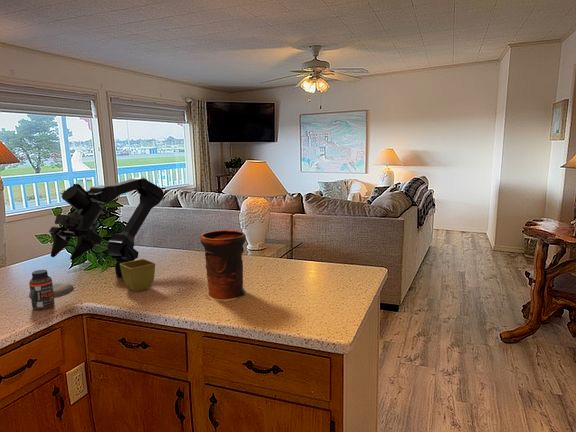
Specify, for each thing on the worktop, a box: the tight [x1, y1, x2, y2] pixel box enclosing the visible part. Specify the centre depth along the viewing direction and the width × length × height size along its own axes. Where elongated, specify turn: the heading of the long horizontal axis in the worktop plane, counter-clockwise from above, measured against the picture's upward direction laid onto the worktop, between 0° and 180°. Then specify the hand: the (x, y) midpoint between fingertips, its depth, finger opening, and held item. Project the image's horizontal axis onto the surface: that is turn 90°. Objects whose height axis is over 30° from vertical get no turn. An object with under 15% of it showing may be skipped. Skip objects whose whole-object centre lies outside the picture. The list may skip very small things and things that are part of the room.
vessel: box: [199, 229, 247, 302], centre depth 131 cm, size 14×14×20 cm
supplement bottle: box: [28, 269, 55, 311], centre depth 124 cm, size 6×6×11 cm
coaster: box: [28, 282, 74, 298], centre depth 137 cm, size 13×13×1 cm
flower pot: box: [120, 258, 156, 293], centre depth 138 cm, size 9×9×9 cm
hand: (61, 258), depth 130 cm, fingers open, 9 cm apart
